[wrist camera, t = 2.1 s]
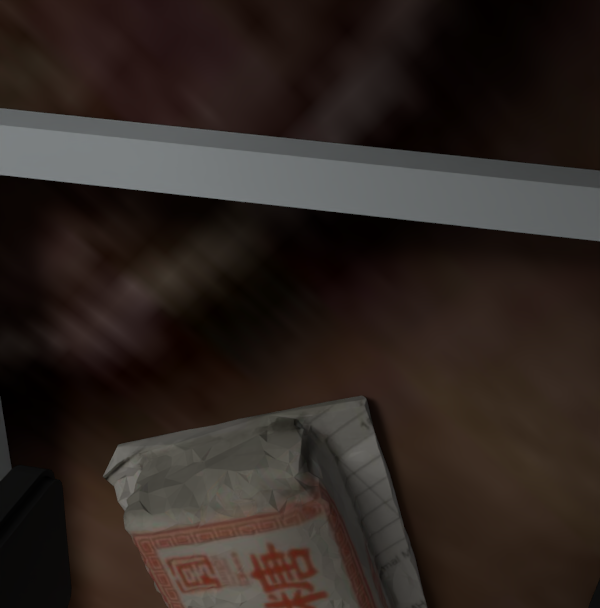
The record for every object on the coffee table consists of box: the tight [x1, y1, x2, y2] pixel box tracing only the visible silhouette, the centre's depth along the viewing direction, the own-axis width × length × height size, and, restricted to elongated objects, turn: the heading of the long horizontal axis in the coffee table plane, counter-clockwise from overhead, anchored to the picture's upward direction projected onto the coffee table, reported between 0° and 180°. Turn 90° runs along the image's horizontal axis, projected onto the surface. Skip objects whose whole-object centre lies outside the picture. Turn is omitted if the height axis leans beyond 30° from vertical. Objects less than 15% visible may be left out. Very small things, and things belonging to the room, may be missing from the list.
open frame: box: [0, 108, 600, 481], centre depth 18 cm, size 21×25×3 cm
